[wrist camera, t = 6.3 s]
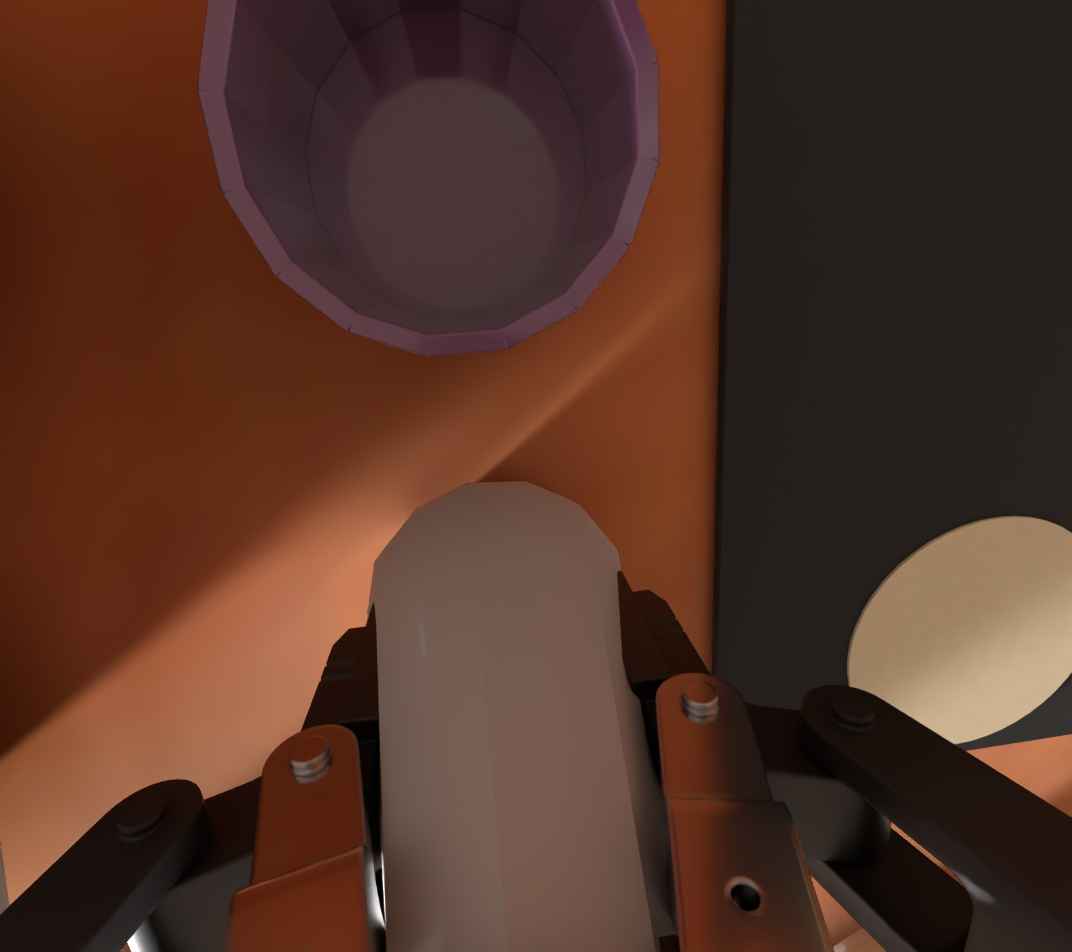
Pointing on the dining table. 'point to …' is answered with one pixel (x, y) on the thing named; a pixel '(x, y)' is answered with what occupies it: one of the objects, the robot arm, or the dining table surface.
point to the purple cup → (434, 156)
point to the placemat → (898, 360)
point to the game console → (3, 886)
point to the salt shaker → (512, 735)
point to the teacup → (858, 943)
